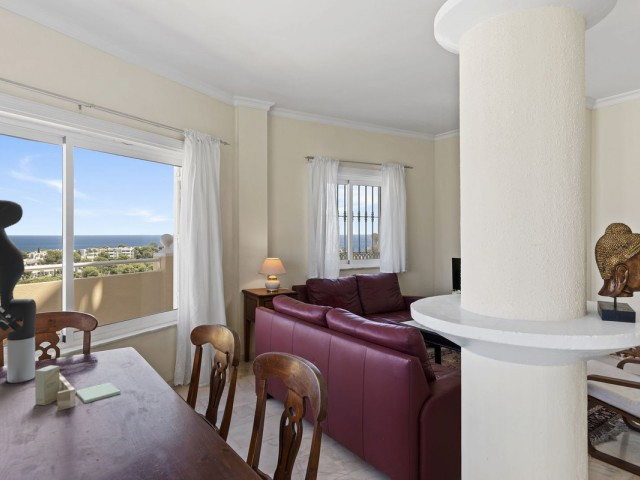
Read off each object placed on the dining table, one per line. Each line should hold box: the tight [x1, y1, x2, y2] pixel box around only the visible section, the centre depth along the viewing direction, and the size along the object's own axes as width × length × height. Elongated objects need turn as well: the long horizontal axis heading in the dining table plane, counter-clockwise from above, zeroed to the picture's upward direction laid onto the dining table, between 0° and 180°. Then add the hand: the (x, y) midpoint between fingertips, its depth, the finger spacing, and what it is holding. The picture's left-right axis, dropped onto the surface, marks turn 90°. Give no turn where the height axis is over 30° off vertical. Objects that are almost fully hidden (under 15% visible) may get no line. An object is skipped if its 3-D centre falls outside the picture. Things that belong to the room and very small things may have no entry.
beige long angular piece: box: [56, 372, 76, 412], centre depth 143 cm, size 22×5×6 cm, turn 45°
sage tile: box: [75, 381, 121, 404], centre depth 148 cm, size 12×12×1 cm
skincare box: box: [34, 364, 60, 406], centre depth 141 cm, size 6×4×12 cm
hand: (12, 329), depth 135 cm, fingers open, 8 cm apart
